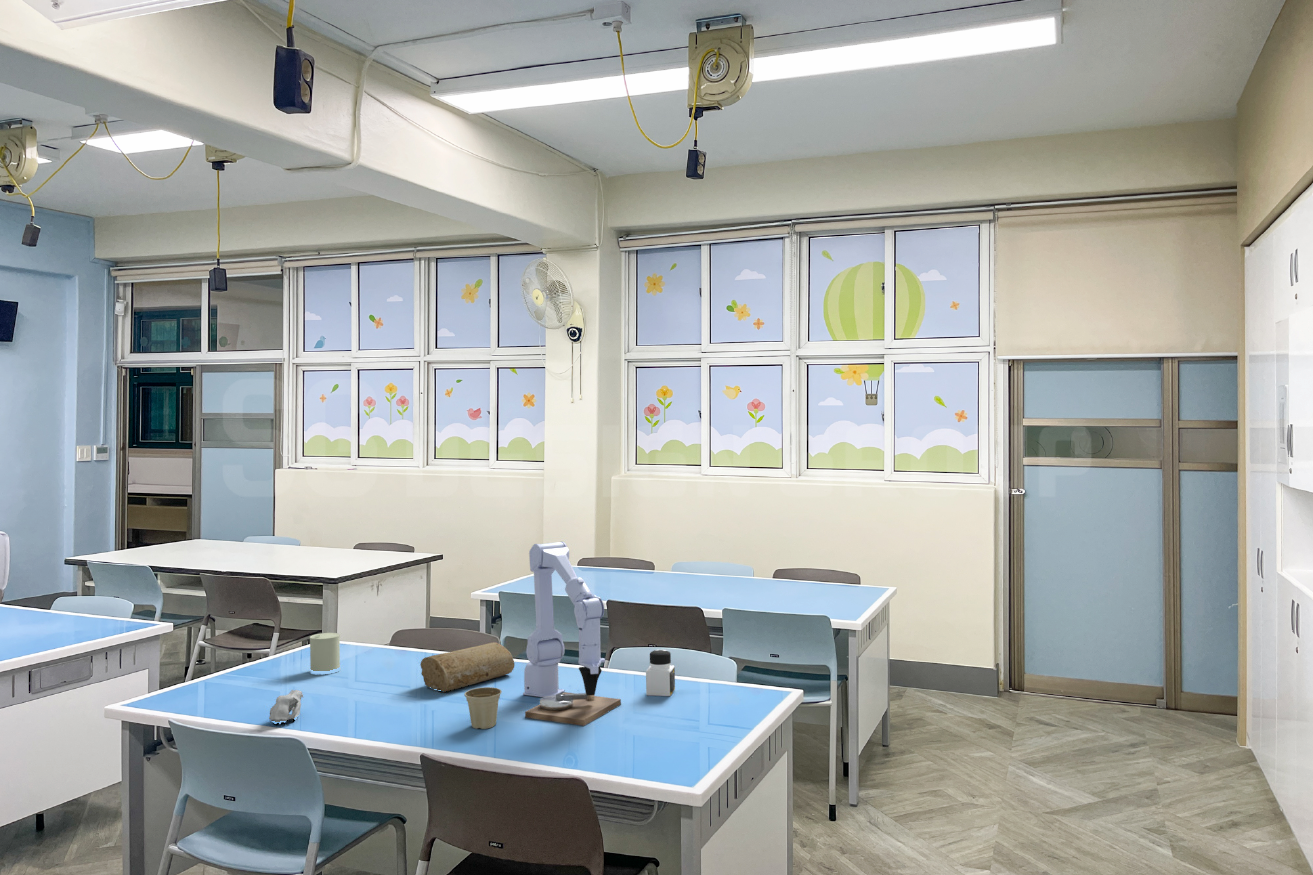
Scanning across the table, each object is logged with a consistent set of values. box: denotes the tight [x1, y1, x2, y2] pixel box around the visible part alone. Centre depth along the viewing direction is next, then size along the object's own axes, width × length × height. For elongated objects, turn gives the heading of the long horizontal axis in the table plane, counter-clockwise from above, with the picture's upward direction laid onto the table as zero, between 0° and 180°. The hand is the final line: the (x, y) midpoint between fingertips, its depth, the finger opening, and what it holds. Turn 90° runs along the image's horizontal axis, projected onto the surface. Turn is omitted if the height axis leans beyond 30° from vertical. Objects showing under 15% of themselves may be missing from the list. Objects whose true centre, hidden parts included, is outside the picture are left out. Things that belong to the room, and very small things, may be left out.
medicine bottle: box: [645, 649, 676, 697], centre depth 262 cm, size 7×7×12 cm
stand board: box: [524, 691, 622, 727], centre depth 246 cm, size 18×20×2 cm
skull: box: [268, 689, 304, 722], centre depth 242 cm, size 8×9×12 cm
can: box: [309, 632, 341, 671], centre depth 292 cm, size 9×9×12 cm
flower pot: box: [463, 687, 503, 730], centre depth 235 cm, size 9×9×9 cm
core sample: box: [419, 641, 515, 693], centre depth 278 cm, size 14×26×10 cm, turn 141°
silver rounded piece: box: [539, 692, 596, 710], centre depth 246 cm, size 15×9×6 cm, turn 94°
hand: (590, 694), depth 242 cm, fingers closed
